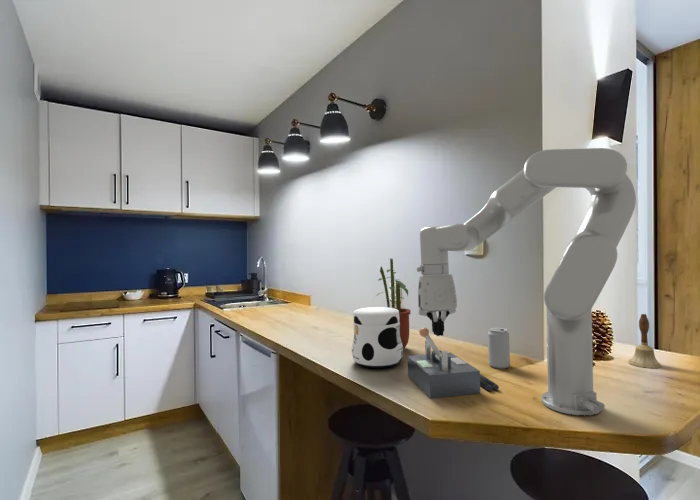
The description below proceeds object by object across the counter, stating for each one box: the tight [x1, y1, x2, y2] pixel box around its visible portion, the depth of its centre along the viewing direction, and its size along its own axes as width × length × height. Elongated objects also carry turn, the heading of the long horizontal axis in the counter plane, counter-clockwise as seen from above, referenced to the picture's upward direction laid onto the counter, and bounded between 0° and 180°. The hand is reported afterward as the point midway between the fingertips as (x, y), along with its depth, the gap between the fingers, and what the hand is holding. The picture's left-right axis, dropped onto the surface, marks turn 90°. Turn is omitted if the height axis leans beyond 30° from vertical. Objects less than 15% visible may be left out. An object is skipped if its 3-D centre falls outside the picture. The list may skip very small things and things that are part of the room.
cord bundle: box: [480, 373, 499, 392], centre depth 111 cm, size 18×3×2 cm, turn 10°
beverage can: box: [487, 327, 511, 370], centre depth 123 cm, size 6×6×12 cm
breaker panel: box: [407, 339, 481, 399], centre depth 109 cm, size 18×14×11 cm
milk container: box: [351, 306, 404, 369], centre depth 130 cm, size 17×17×18 cm
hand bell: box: [628, 313, 662, 370], centre depth 121 cm, size 8×8×16 cm
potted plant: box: [373, 257, 412, 350], centre depth 149 cm, size 17×16×35 cm
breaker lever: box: [419, 327, 441, 361], centre depth 109 cm, size 4×3×11 cm
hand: (438, 334), depth 109 cm, fingers closed
